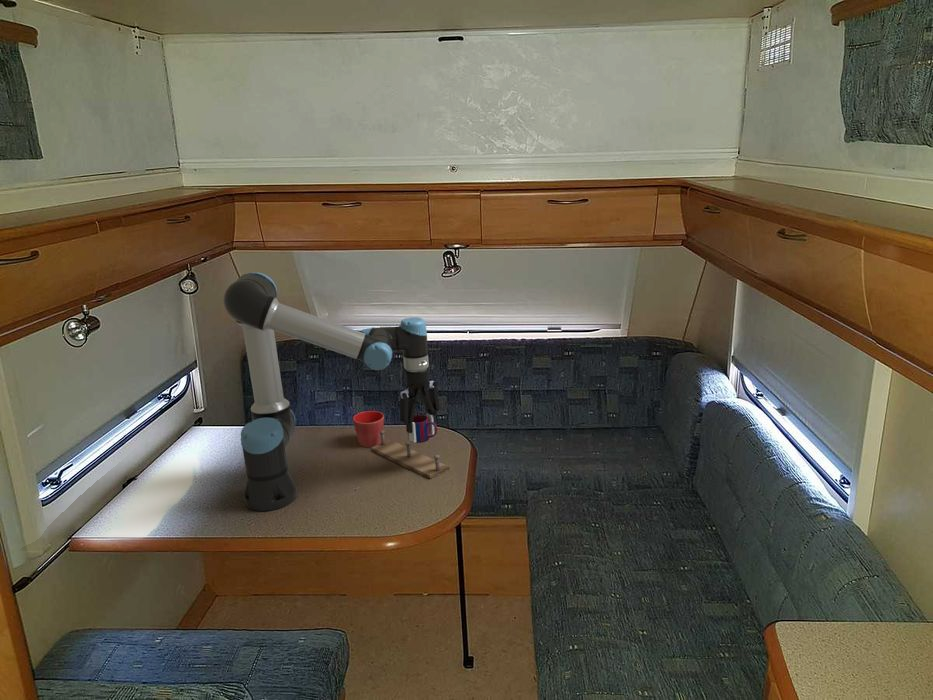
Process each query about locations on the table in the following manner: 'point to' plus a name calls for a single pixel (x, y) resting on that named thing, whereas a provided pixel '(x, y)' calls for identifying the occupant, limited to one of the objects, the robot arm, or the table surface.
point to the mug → (422, 428)
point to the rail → (410, 458)
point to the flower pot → (369, 427)
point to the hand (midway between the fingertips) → (421, 437)
